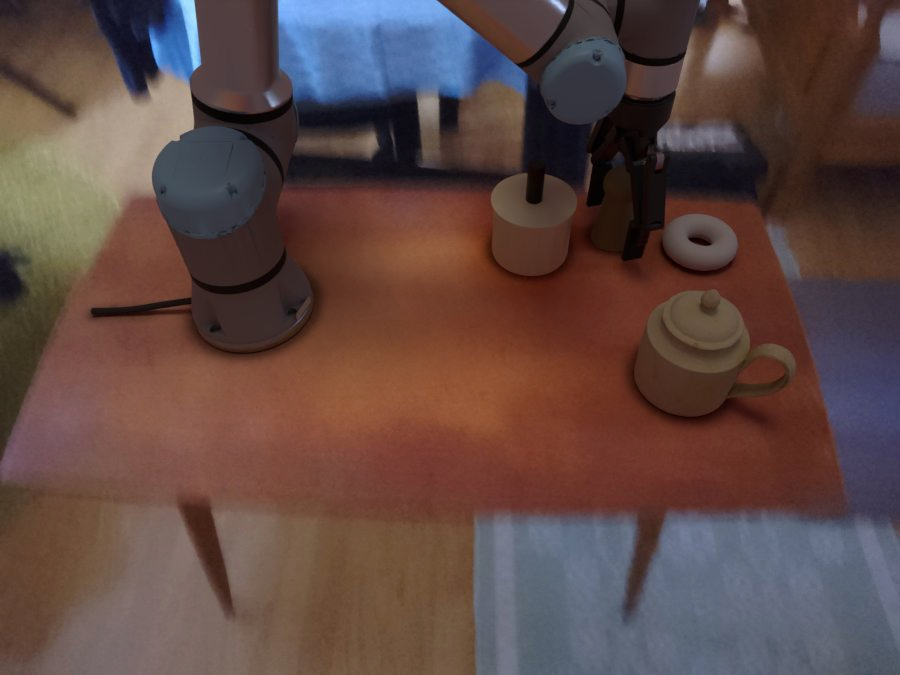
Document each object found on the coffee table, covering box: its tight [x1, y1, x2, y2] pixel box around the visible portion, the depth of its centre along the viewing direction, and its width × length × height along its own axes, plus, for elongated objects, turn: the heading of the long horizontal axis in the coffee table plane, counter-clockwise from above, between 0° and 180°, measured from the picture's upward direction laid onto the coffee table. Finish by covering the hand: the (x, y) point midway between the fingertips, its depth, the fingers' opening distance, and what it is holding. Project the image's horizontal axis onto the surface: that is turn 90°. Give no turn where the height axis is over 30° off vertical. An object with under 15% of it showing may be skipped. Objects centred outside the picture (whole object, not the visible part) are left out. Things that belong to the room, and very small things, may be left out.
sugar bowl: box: [633, 288, 797, 418], centre depth 74 cm, size 15×11×15 cm
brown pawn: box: [590, 165, 634, 253], centre depth 92 cm, size 6×6×11 cm
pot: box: [491, 210, 574, 277], centre depth 92 cm, size 10×10×8 cm
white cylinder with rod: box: [490, 157, 578, 230], centre depth 87 cm, size 11×11×7 cm
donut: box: [661, 213, 739, 272], centre depth 93 cm, size 10×4×10 cm
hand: (612, 230), depth 96 cm, fingers open, 11 cm apart
